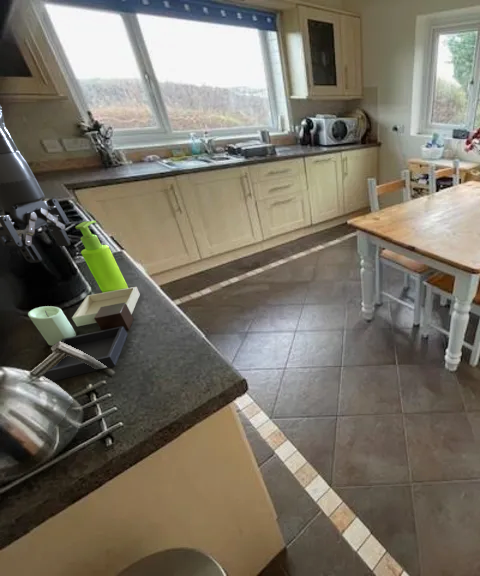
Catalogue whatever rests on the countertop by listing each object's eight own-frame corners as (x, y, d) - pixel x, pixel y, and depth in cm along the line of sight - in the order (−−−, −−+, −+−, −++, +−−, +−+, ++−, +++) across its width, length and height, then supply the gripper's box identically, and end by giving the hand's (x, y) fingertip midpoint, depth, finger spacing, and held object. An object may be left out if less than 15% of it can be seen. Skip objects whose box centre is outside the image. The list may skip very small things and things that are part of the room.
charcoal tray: (46, 382, 64) (39, 373, 62) (68, 347, 72) (62, 338, 71) (115, 366, 67) (109, 356, 66) (127, 334, 76) (123, 325, 75)
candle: (80, 330, 78) (63, 301, 74) (69, 343, 74) (50, 313, 69) (55, 334, 77) (36, 305, 72) (43, 347, 73) (21, 317, 68)
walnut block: (103, 335, 76) (93, 318, 73) (109, 323, 80) (100, 306, 77) (129, 330, 78) (120, 313, 75) (133, 318, 82) (125, 302, 79)
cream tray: (76, 326, 79) (71, 318, 78) (91, 303, 88) (87, 295, 87) (131, 315, 83) (127, 307, 82) (140, 294, 92) (136, 286, 90)
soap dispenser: (134, 283, 97) (103, 218, 87) (122, 295, 91) (88, 227, 81) (112, 285, 96) (78, 219, 86) (98, 297, 90) (61, 229, 80)
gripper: (17, 171, 70) (56, 241, 78) (-52, 187, 58) (4, 269, 66) (55, 170, 70) (90, 240, 79) (-5, 185, 58) (45, 266, 67)
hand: (51, 253), depth 72 cm, fingers open, 8 cm apart
